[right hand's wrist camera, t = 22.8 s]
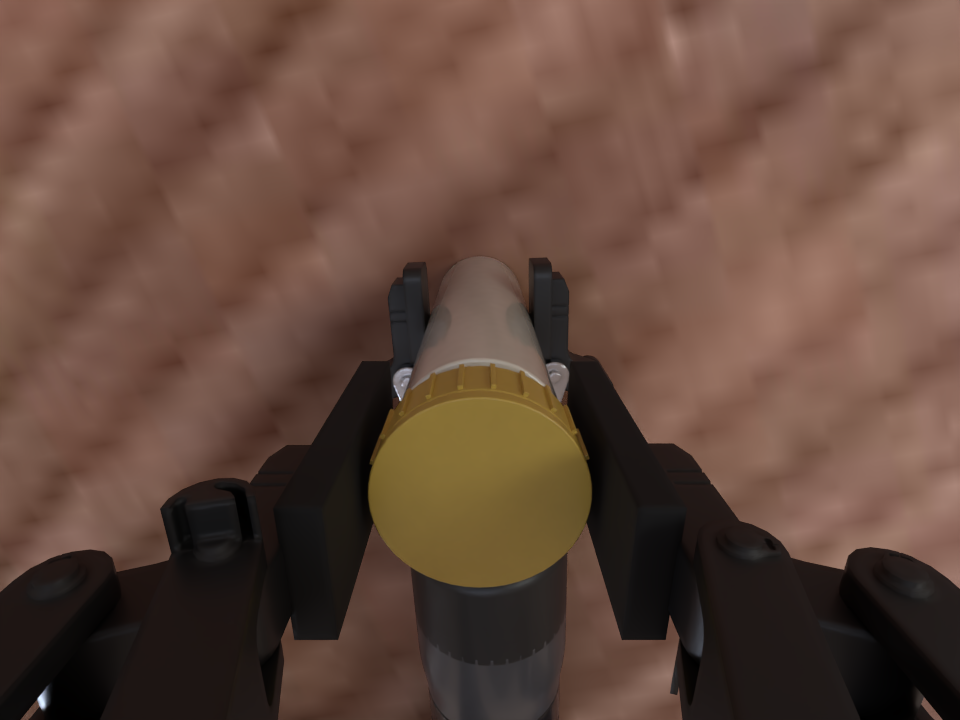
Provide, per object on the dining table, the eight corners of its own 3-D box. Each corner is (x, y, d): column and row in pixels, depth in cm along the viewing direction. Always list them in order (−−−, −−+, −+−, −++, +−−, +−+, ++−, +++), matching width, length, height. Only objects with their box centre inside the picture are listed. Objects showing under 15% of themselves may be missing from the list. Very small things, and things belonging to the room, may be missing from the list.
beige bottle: (426, 272, 27) (351, 420, 11) (505, 243, 26) (542, 356, 10) (456, 346, 28) (426, 571, 12) (531, 320, 27) (599, 520, 12)
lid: (353, 500, 13) (334, 550, 11) (422, 328, 11) (412, 357, 9) (528, 561, 13) (534, 616, 12) (616, 406, 12) (638, 445, 10)
